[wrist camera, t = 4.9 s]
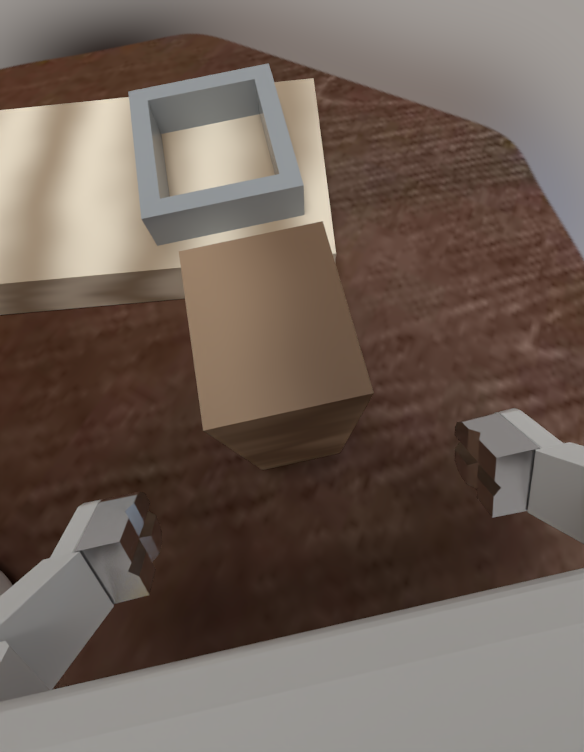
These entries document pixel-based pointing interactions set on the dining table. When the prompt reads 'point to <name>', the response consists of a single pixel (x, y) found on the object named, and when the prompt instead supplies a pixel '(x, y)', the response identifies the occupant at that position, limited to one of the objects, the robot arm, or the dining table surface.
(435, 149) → the dining table surface
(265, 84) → the grey square frame
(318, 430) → the long tan wooden beam
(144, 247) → the stand
